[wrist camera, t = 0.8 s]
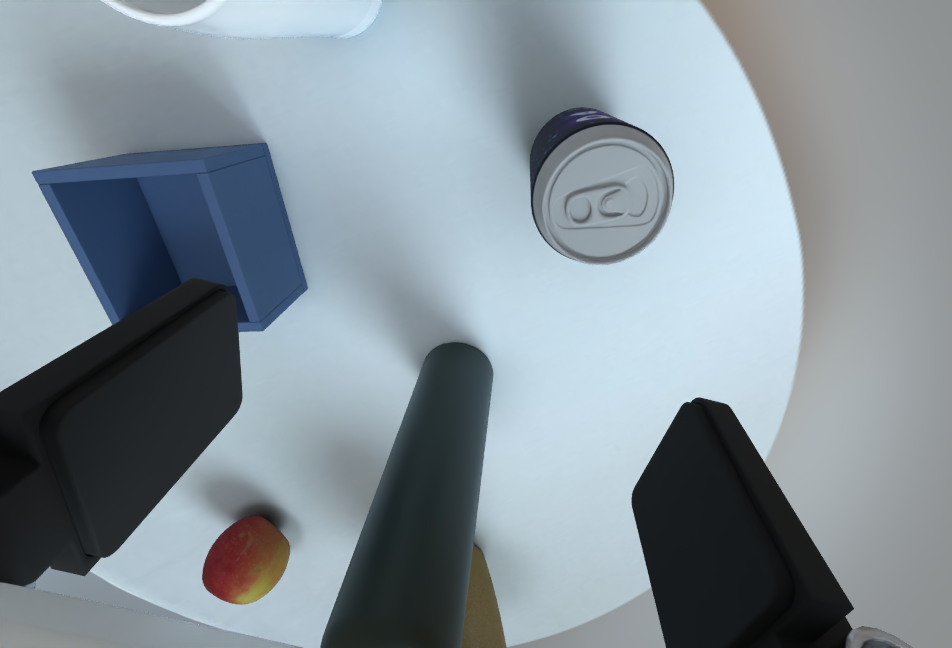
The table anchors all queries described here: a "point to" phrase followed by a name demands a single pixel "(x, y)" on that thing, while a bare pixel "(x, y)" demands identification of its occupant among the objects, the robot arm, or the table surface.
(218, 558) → the apple
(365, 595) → the wine bottle
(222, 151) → the blue open box
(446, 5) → the table surface
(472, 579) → the plant pot
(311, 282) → the table surface
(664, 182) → the beverage can
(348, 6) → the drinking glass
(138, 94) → the table surface
